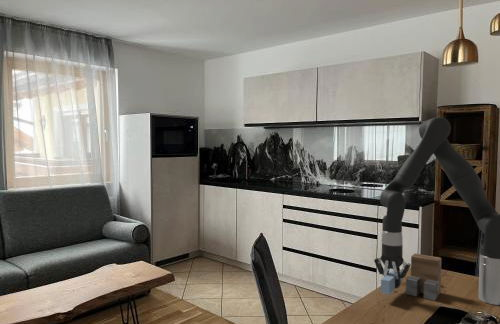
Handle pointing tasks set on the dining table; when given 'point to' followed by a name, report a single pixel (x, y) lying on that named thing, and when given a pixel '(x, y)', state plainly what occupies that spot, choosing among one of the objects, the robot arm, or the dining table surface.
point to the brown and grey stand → (424, 276)
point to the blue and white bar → (389, 282)
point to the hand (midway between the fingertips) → (391, 286)
